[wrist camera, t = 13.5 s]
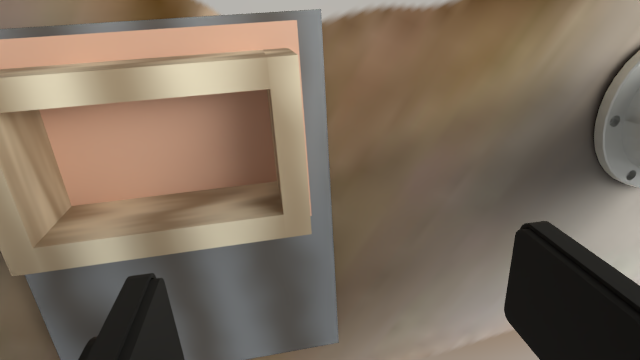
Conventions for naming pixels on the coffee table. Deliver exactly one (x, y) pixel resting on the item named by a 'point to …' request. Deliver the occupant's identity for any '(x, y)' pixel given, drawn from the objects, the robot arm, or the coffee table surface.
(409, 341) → the coffee table surface
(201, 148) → the pin stand
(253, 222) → the open wooden box
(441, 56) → the coffee table surface
